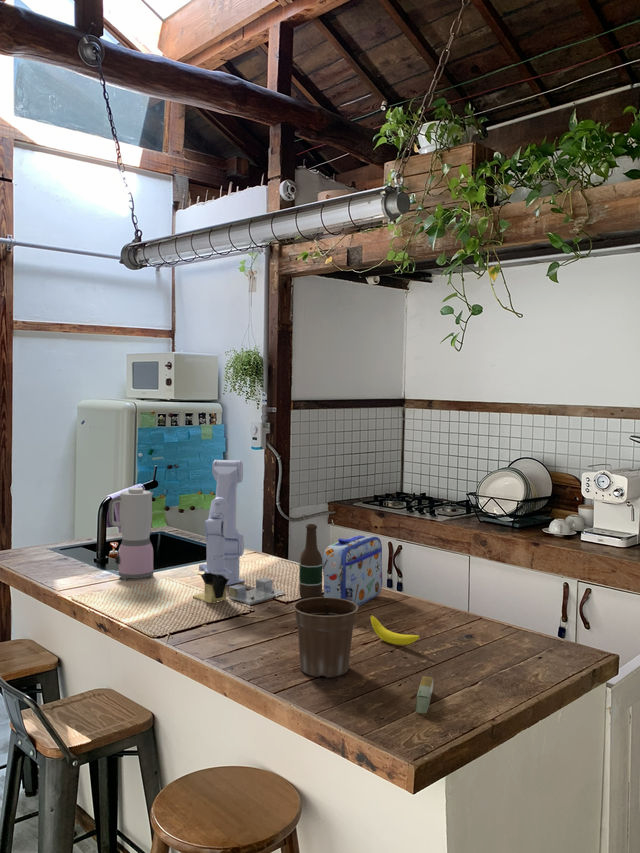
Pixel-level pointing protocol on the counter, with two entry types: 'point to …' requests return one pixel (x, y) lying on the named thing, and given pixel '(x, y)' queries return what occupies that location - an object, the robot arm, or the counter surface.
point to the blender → (134, 533)
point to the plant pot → (325, 635)
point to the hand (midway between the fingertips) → (215, 596)
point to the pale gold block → (210, 593)
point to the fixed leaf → (254, 592)
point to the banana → (391, 634)
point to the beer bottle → (310, 566)
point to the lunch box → (353, 569)
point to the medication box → (424, 694)
